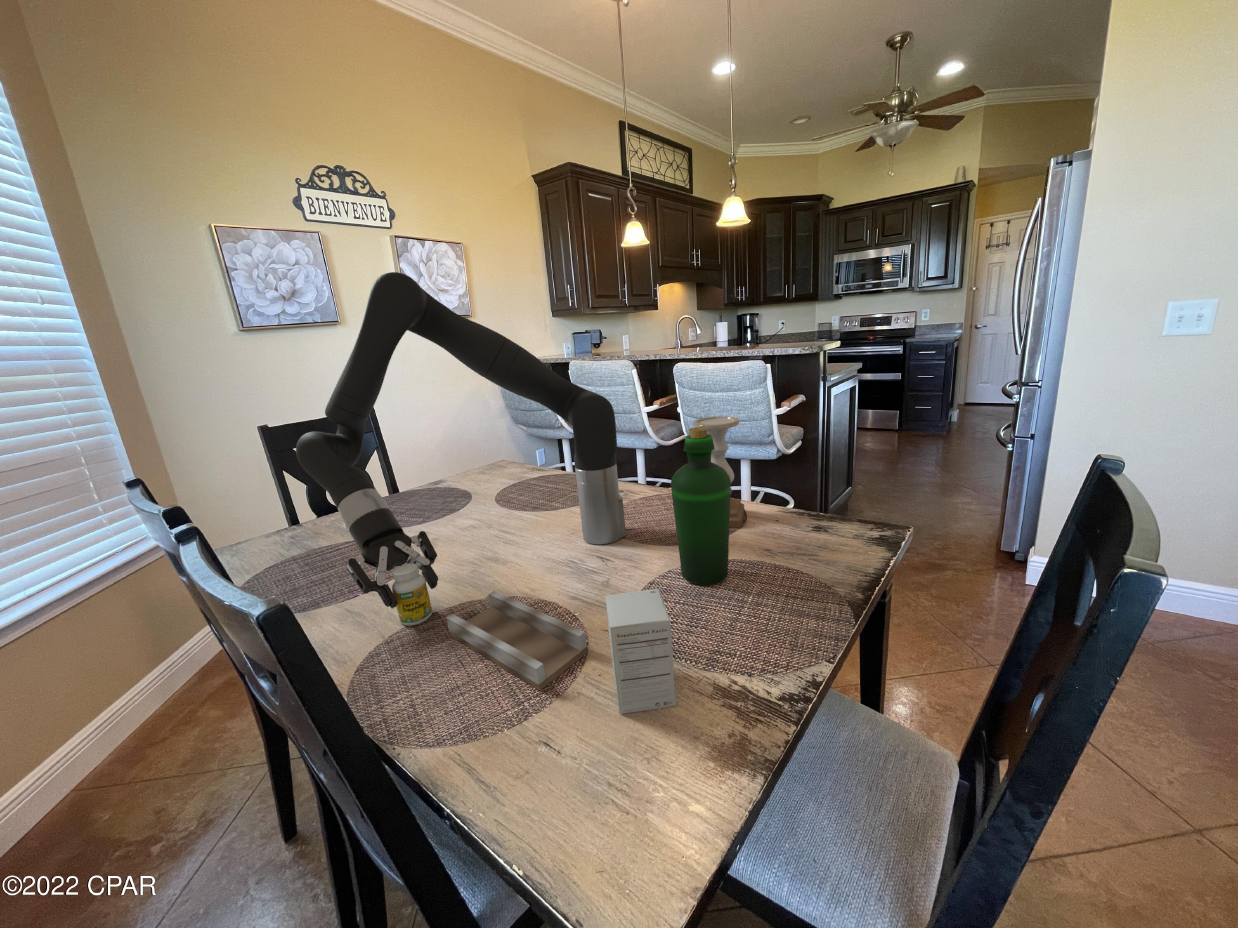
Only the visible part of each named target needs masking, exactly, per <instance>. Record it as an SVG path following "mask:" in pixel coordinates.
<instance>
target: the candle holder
mask: <svg viewBox="0 0 1238 928" xmlns="http://www.w3.org/2000/svg"><path fill="white" fill-rule="evenodd" d="M739 419H740V418H737V417H733V416H709V417H703V418H698V419H695V421H693V426H694V428H695V427H706V428H707V434H710V435H712V439H713V443H714V447H715V450H713V451H711V462H712V463H715V464H717V465H718V466H720V467H722V468H723V469H725V471H726V472H727V473H728V475H729V476H730V480H731V484H733V481H734V479H735V473H734V471H733V469H732V467H731V466H730V464H729V463H728V461H727V460H726V453H727V452H728V450H729V447H730V446H729V445H728V444H727V442H726V440H725V439H726V438H725V437H726V435H727V433H728V432H729V429H730V428H734V427H737V426H738V425H739V424H740V420H739ZM732 493H733V489H732V488H730V520H729V529H740V528H741V527H743V521H744V517H745V503H742V502H741V501H742V500H741V499H740V498H733V497H731V495H732Z"/></svg>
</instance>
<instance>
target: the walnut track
mask: <svg viewBox="0 0 1238 928" xmlns="http://www.w3.org/2000/svg"><path fill="white" fill-rule="evenodd" d="M488 599H489V605H490V606H489V607H488V608H486V609H484V610H483V611H481V612H479V613H477V614H476V615H474V616H473V617H471V618H469V619H468V620H467V619H466V620H465V619H463V618H462V617H459V616H457V615H455V614H454V613H452V614H450V615H448V616H446V623H447V627H448V632H449V637H451V638H452V639H454V640H456V641H457V642H458V643H461V644H462V645H464V646H466V648H469V649H470V650H472V651H474V652H475V653H477V654H479V655H480V656H481V657H483V658H485V659H487V660H488V661H490V662H492V663H493V664H495V665H497V666H498V667H500V668H501V669H503V670H505V671H507V672H508V673H510V674H511V675H513V676H515V677H516V678H518V679H520V680H521V681H523V682H525V683H526V684H528V685H529V686H531V687H532V688H535V689H536V690H538V691H539V692H540V691H542V690H543V689H544V688H545V687H547V686H548V685H549V684H550V683H551V682H553V681H554V680H555V679H556V678H558V677H559V676H560V675H562V673H564V672H565V671H567V669H569V668H571V666H573V665H574V664H575V663H576V662H578V661H579V660H580V659H581V658H582V657H584V656H585V655H586V654H588V647H587V637H586V632H585V631H584V630H581V629H579V628H577V627H575V626H573V625H570V624H569V623H566V622H563V621H561V620H560V619H557V618H556V617H553V616H551V615H548V614H546V613H544V612H542V611H540V610H539V609H536V608H533V607H531V606H529V605H526V604H524V603H522V602H520V601H517V600H515V599H513V598H511V597H508V596H506V595H504V594H503V593H500V592H497V591H495V590H494V591H492V592H489V593H488Z"/></svg>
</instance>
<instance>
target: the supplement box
mask: <svg viewBox="0 0 1238 928" xmlns="http://www.w3.org/2000/svg"><path fill="white" fill-rule="evenodd" d="M605 606H606V618H607V624H608V633H609V634H608V636H609V642H610V643H609V644H610V652H611V653H610V654H611V661H612V668H613V676H614V682H615V691H616V695H617V704H618V705H617V706H618V713H619V714H622V715H624V714H632V713H638V712H643V711H644V712H645V711H651V710H659V709H665V708H672V707H675V706H676V705H677V698H676V697H677V696H676V685H675V671H674V670H675V669H674V667H675V666H674V656H673V655H674V654H673V653H674V652H673V642H672V641H673V640H672V626H671V619H670V616H669V613H668V610H667V607H666V603H665V601H664V599H663V596H662V593H661V589H660V588H655V589H653V588H651V589H644V590H638V591H631V592H628V591H627V592H621V593H615V594H607V595H606V596H605Z"/></svg>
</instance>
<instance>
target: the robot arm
mask: <svg viewBox="0 0 1238 928" xmlns="http://www.w3.org/2000/svg"><path fill="white" fill-rule="evenodd" d="M407 331H409V332H411V333H413V334H415V335H417V336H419V337H422V338H423V339H425V340H427V341H430V342H432V343H433V344H435V345H436V346H437V345H438V346H439V347H440V348H442V349H443V350H445V351H446V352H448V353H449V354H450V355H451V356H452V357H453V358H455V359H456V360H457V361H459V362H461V363H462V365H465V366H466V367H467V368H468V369H470V370H471V371H473V372H474V373H475V374H477V375H479V376H480V377H482V378H484V379H486V380H488V381H489V382H491V383H493V384H494V385H496V386H498V387H499V388H501V389H504V390H506V391H508V392H510V393H512V394H515V395H518V396H519V397H522V398H525V399H527V400H529V401H533V402H535V403H537V404H540V405H542V406H544V407H545V408H547V409H548V410H550V411H551V412H553V413H555V414H556V415H558V416H559V417H560V418H561V419H562V420H565V422H567V423H568V424H569V425H570V426H571V427H572V434H573V441H574V442H573V443H574V456H573V462H574V470H575V477H576V485H577V495H578V496H577V497H578V503H579V513H580V521H581V522H580V523H581V529H582V537H583V540H584V541H585V542H586V543H588V544H590V545H591V544H592V545H607V544H611V543H614V542H618V541H619V540H620V539H622V538H624V537H626V536H627V531H626V530H627V529H626V521H625V520H626V519H625V511H624V509H625V508H624V500H623V499H624V498H623V496H621V495H620V488H619V478H618V477H619V476H618V467H617V452H618V441H617V440H618V439H617V436H618V435H617V427H616V425H617V424H616V416H615V411H614V408H613V405H612V403H611V402H610V401H609V399H608V398H606V397H604V396H603V395H602V394H601V395H600V394H598V393H597V392H594V391H591V390H589V389H586V388H584V387H582V386H579V385H577V384H576V383H573V382H571V381H569V380H567V379H565V378H563V376H560V375H559V374H558V373H556V372H554V371H553V370H552V369H551V368H550V367H548V366H547V365H546V364H545V363H544V362H543V361H541V360H540V359H539V358H538V357H536V355H534V354H532V353H531V352H530V351H528V350H527V349H525V348H524V347H523V346H520V344H519V343H516V342H514V341H513V340H511V339H510V338H507V336H505V335H503V334H501V333H499V332H497V331H496V330H493V329H491V328H490V327H487V326H485V325H483V324H480V323H479V322H476V321H473V320H471V319H468V318H466V317H463V316H462V315H461V314H458V313H456V312H455V311H453V310H452V309H451V308H449V307H447V306H446V305H444V304H443V303H442V302H440V301H439V300H438V299H436V298H435V297H433V295H430V293H428V292H427V291H426V290H425V289H423V287H421V285H420V284H419V283H418V282H417V281H416V280H415V279H414V278H413V277H411V276H409V275H408V274H406V273H402V272H397V271H391V272H386V273H383V274H381V275H380V276H378V277H377V278H376V279H375V280H374V282H372V285H371V288H370V292H369V296H368V299H367V303H366V307H365V311H364V316H363V320H362V323H361V326H360V329H359V332H358V336H357V338H356V341H355V343H354V346H353V348H352V351H351V353H350V355H349V358H348V360H347V361H346V364H345V365H344V368H343V370H342V372H341V374H340V375H339V376H340V377H339V378H338V380H337V382H336V385H335V386H334V389H333V391H332V394H331V396H330V397H329V400H328V402H327V405H326V407H325V410H324V415H325V417H327V419H328V420H329V421H330V422H332V423H334V424H335V425H337V430H336V433H329V432H324V431H309V432H306V433H304V434H303V435H301V437H300V438H299V439H298V440H297V443H296V447H295V453H296V458H297V460H298V463H299V464H300V467H301V468H302V469H303V470H304V471H305V472H306V473H307V474H308V476H310V477H311V478H312V479H313V480H314V481H315V482H316V483H317V484H318V485H319V486H321V488H323V489H324V490H325V491H326V492H327V493H328V495H329V496H330V498H331V500H332V502H333V503H334V505H335V507H336V508H337V510H338V513H339V515H340V517H341V520H342V522H343V525H344V527H345V529H346V530H348V532H349V534H350V535H351V537H352V539H353V541H354V543H355V544H356V546H357V547H358V549H359V550H360V552H361V556H359V557H357V558H353V557H351V558H349V559H348V561H347V564H346V571H347V572H348V574H349V575H350V576H351V579H353V580H354V582H355V584H356V585H357V586H358V588H359V589H360V591H361V593H363V594H368V593H371V592H374V593H377V595H378V596H379V597H380V599H381V601H382V603H383V604H384V606H385V607H387V608H389V607H390V608H391V609H394V608H397V604H398V601H397V599H396V597H395V596H394V594H393V591H392V588H391V587H390V586H389V583H386V573H387V572H390V571H391V570H392V571H393V570H394V569H396V568H397V567H400V566H402V565H405V564H416V565H417V566H418V570H419V571H421V573H420V575H422V576H423V577H424V578H425V581H426V584H427V586H429V588H430V589H431V590H433V589H435V588H437V585H438V581H439V577H438V575H437V573H436V572H435V570H434V569H433V566H432V565H433V564H434V563H435V561H436V559H437V557H438V554H437V551H436V550H435V548H434V545H433V544H432V542H431V540H430V538H429V536H428V534H427V532H426V531H425V530H421V531H419V533H418V534H415V535H412V536H409V535H408V534H406V533H405V531H404V530H403V528H402V526H401V525H400V523H399V521H398V520H397V518H396V516H395V515H394V513H393V512H392V510H391V508H390V506H389V505H388V503H387V502H386V501H385V498H383V497H382V495H381V494H380V493H379V492H378V490H377V489H376V487H375V485H374V484H373V481H371V479H370V477H369V476H368V474H367V473H366V472H365V471H364V470H362V469H361V468H358V467H356V466H355V465H356V464H357V463H358V462H359V459H360V457H361V455H362V453H363V452H362V450H363V443H364V438H365V431H366V424H367V420H368V419H369V416H370V414H371V412H372V410H373V408H374V405H375V404H376V401H377V399H378V397H379V396H380V392H381V390H382V387H383V383H384V381H385V376H386V375H387V371H388V367H389V365H390V363H391V359H392V357H393V355H394V352H395V350H396V348H397V347H398V344H399V343H400V341H401V340H402V338H403V337H404V335H405V334H406V332H407ZM412 544H414V546H415V547H417V548H419V549H420V551H421V553H422V555H421V554H420V552H419V551H417V550H415V549H413V548H412ZM364 564H365V565H366V564H367V565H369V566H370V567H374V568H375V575H374V576H375V577H374V580H371V579H370V577H369V576H368V574H367V573H366V571H365V570H364V567H365V565H364Z"/></svg>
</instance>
